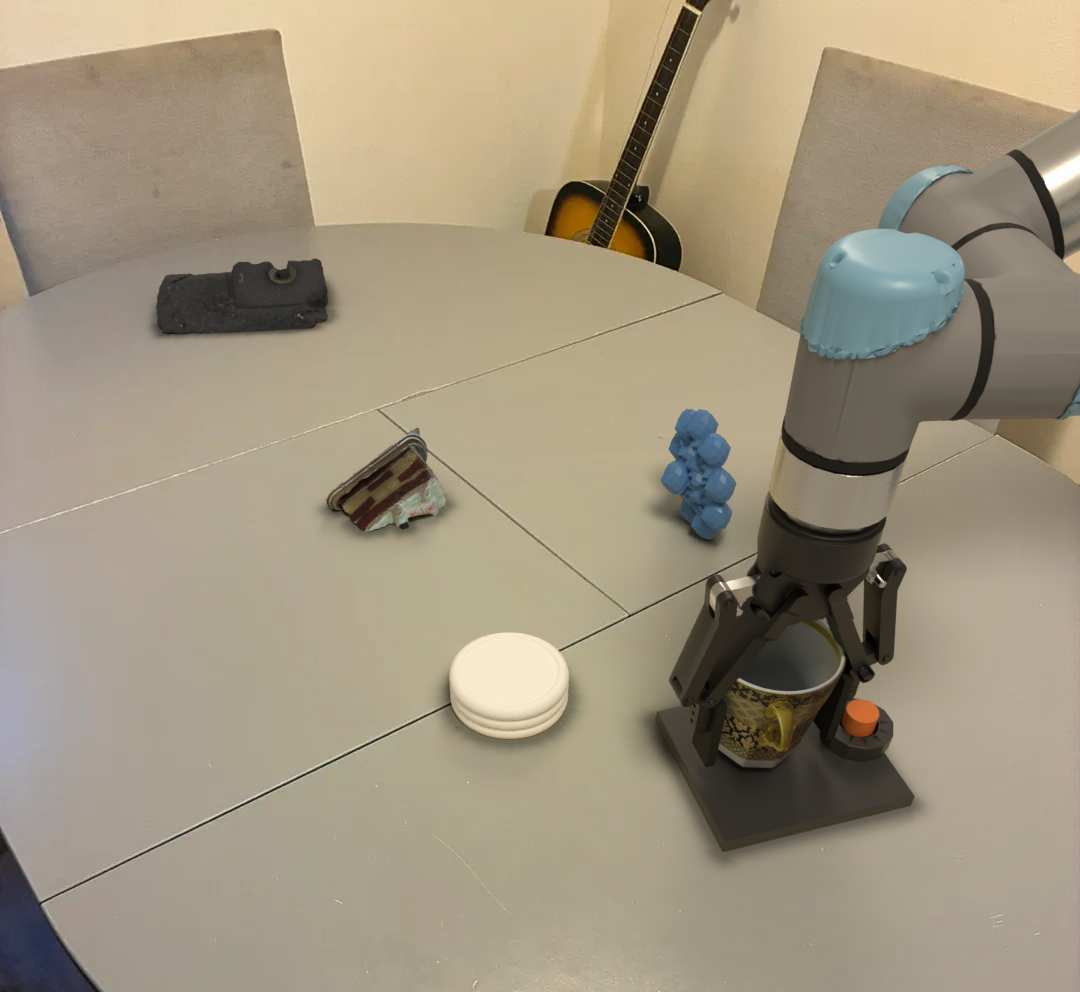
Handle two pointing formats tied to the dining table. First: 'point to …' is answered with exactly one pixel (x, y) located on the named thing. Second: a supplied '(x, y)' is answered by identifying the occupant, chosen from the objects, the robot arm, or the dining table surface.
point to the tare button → (860, 718)
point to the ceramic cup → (780, 694)
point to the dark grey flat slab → (790, 783)
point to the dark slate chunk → (244, 299)
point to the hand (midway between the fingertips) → (763, 740)
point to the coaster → (509, 685)
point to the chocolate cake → (391, 487)
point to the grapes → (700, 473)
